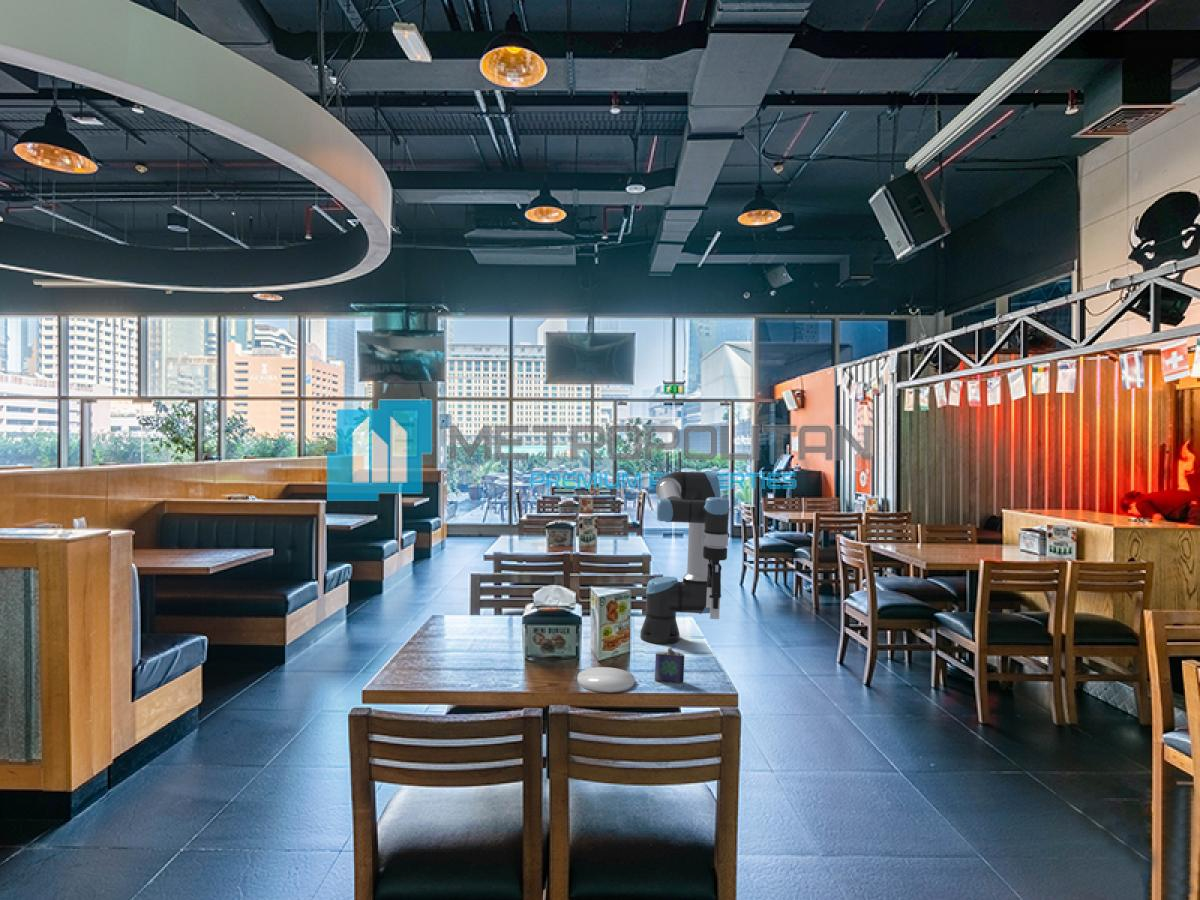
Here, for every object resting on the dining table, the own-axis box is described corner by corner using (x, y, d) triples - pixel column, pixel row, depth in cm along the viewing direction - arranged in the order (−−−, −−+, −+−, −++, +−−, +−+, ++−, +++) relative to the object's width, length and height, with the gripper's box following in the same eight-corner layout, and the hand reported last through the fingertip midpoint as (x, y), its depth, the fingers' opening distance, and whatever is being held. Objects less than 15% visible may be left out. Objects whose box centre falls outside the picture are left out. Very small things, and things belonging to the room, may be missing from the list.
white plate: (580, 670, 228) (580, 665, 228) (634, 673, 227) (635, 669, 227) (574, 690, 210) (574, 685, 210) (633, 694, 209) (634, 689, 209)
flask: (654, 681, 220) (655, 648, 220) (654, 678, 223) (656, 645, 223) (683, 684, 219) (684, 650, 219) (683, 680, 222) (684, 647, 222)
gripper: (700, 539, 232) (697, 602, 232) (706, 552, 207) (703, 623, 208) (722, 540, 231) (720, 603, 232) (732, 554, 206) (729, 624, 207)
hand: (712, 613), depth 220 cm, fingers open, 13 cm apart
